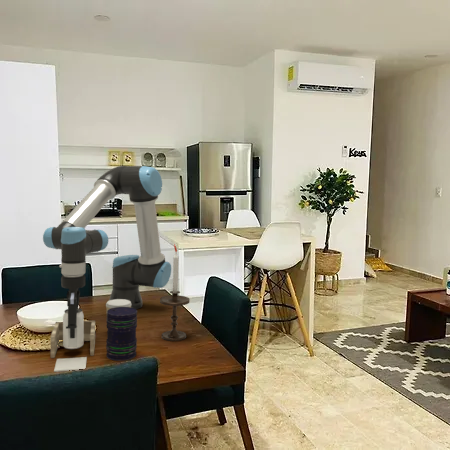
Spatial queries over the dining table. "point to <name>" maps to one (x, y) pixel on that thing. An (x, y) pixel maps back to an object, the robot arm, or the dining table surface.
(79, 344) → the can
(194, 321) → the dining table surface
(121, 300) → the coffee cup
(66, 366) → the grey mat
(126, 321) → the storage jar
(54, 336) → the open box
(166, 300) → the candlestick
